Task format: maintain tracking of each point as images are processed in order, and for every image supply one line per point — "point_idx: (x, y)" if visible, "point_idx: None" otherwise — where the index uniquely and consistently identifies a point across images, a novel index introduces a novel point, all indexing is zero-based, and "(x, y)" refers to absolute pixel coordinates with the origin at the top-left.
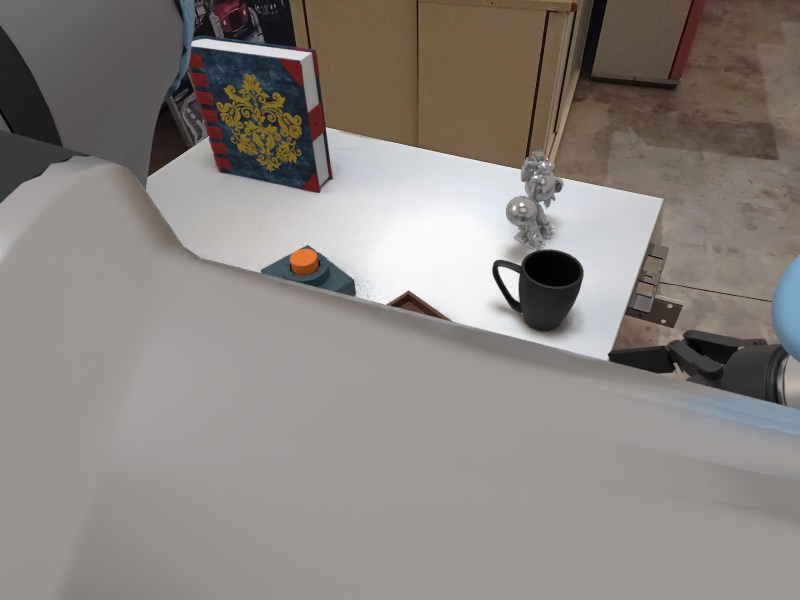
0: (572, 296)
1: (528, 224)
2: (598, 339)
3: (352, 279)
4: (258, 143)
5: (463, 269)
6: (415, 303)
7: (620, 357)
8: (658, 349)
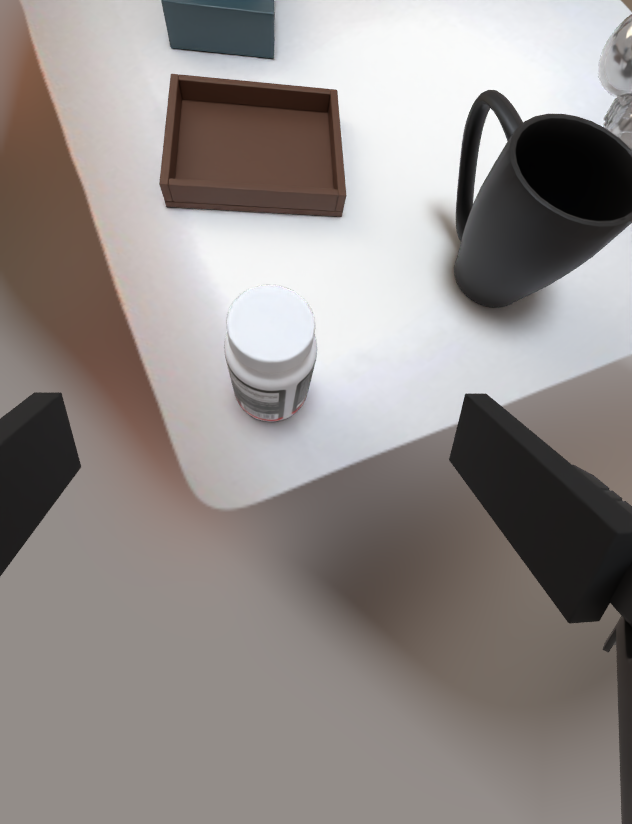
0: (560, 254)
1: (627, 92)
2: (536, 372)
3: (271, 11)
4: None
5: (456, 133)
6: (329, 119)
7: (482, 427)
8: (610, 526)
